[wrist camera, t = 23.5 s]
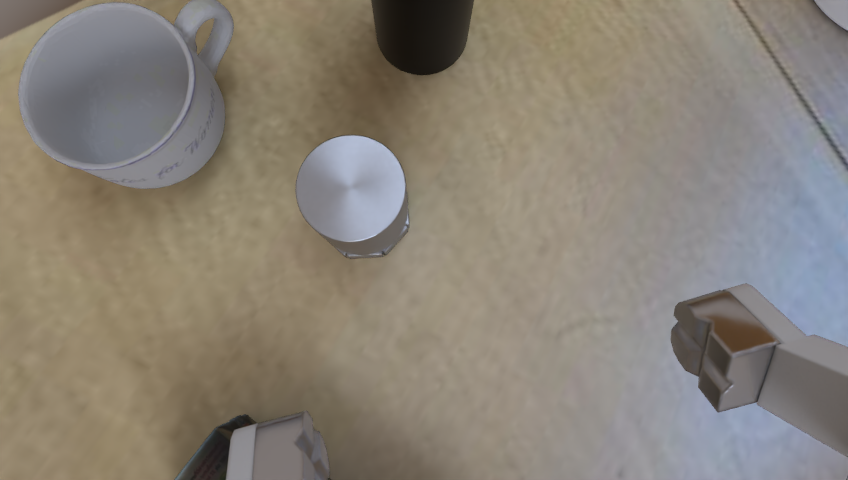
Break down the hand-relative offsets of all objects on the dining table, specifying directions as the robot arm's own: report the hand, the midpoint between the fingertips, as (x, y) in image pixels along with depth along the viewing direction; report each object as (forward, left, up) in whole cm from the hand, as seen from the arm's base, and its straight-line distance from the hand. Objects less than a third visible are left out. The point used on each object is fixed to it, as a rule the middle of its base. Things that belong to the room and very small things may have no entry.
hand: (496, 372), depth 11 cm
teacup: (+18, -17, -26) cm, 36 cm away
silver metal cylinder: (+5, -9, -26) cm, 28 cm away
